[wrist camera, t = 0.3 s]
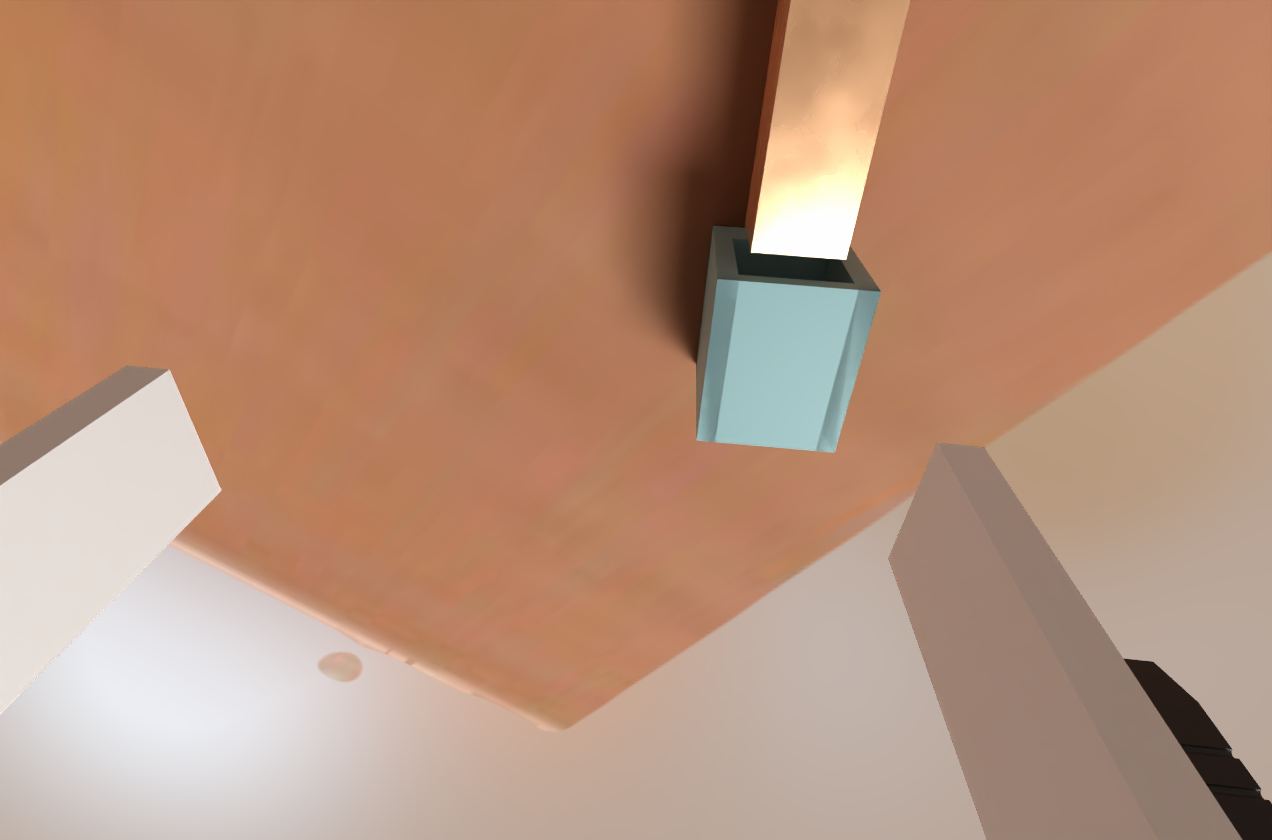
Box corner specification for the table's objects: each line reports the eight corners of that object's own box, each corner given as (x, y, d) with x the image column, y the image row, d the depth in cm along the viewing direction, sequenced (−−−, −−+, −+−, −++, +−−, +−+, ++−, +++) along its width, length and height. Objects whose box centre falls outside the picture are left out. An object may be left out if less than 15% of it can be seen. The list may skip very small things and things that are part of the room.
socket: (713, 225, 35) (717, 279, 28) (842, 235, 35) (880, 291, 27) (696, 364, 40) (696, 440, 33) (809, 374, 40) (834, 452, 33)
